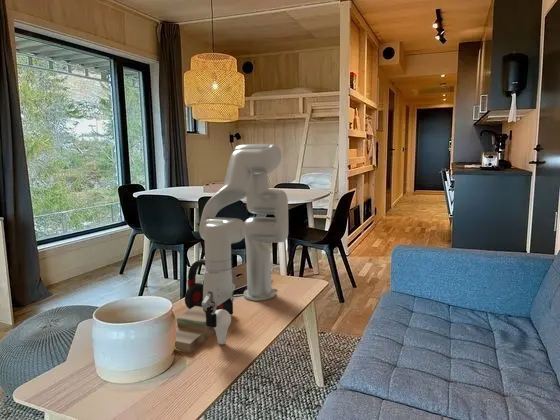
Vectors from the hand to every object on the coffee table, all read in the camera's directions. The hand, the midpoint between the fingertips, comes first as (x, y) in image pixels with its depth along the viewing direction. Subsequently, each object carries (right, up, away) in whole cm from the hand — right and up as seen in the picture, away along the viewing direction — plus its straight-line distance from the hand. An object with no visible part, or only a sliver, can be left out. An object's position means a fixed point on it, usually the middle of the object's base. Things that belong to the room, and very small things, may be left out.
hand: (220, 319), depth 122 cm
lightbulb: (0, -8, +2) cm, 8 cm away
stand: (-10, -7, +7) cm, 14 cm away
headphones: (-8, -4, +24) cm, 26 cm away
